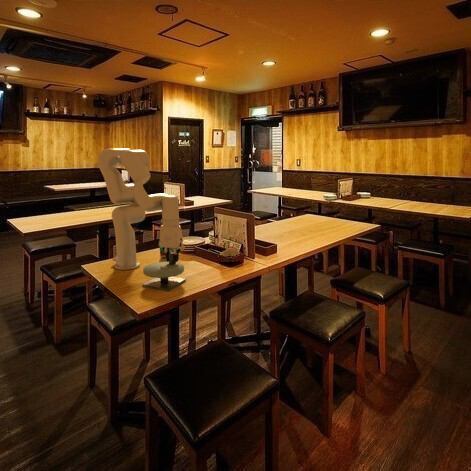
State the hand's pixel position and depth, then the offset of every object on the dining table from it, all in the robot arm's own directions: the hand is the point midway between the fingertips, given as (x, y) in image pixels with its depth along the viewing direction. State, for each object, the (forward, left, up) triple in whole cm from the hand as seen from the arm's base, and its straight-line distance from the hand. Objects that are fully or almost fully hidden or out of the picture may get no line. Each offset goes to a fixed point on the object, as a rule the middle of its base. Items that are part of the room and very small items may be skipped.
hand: (172, 261), depth 170 cm
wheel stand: (0, -7, -9) cm, 11 cm away
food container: (-22, +30, -9) cm, 38 cm away
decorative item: (+13, +36, -9) cm, 39 cm away
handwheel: (0, -7, -3) cm, 8 cm away
